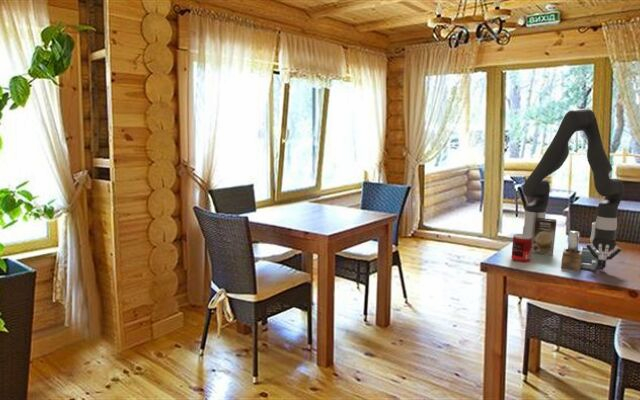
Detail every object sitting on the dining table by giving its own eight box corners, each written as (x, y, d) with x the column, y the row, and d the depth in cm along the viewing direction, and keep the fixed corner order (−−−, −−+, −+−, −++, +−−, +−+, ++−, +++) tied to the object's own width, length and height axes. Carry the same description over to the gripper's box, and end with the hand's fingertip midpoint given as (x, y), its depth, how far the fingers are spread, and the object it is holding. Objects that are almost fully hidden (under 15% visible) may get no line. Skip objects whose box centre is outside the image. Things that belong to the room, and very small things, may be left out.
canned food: (529, 258, 221) (531, 234, 219) (530, 263, 213) (532, 238, 212) (511, 256, 223) (513, 233, 222) (511, 261, 216) (513, 236, 214)
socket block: (561, 267, 207) (562, 252, 206) (563, 262, 215) (564, 247, 214) (579, 270, 203) (581, 255, 202) (581, 264, 212) (582, 249, 211)
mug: (613, 245, 246) (616, 225, 245) (595, 245, 247) (597, 225, 245) (600, 239, 259) (602, 220, 257) (582, 239, 259) (584, 220, 257)
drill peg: (566, 255, 208) (569, 232, 206) (567, 253, 211) (569, 230, 209) (577, 256, 206) (579, 233, 204) (577, 254, 209) (579, 231, 208)
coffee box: (531, 253, 229) (534, 219, 227) (532, 250, 235) (535, 217, 232) (553, 255, 225) (556, 221, 223) (553, 252, 231) (556, 219, 229)
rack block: (574, 263, 214) (576, 249, 213) (575, 258, 221) (577, 245, 220) (601, 266, 209) (602, 253, 208) (601, 262, 216) (602, 249, 215)
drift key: (569, 266, 208) (570, 259, 207) (570, 264, 211) (570, 257, 211) (595, 270, 203) (596, 263, 202) (595, 268, 207) (596, 260, 206)
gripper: (587, 227, 201) (582, 268, 204) (624, 231, 194) (620, 273, 197) (587, 223, 207) (583, 263, 210) (624, 227, 201) (619, 268, 204)
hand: (601, 268), depth 204 cm, fingers closed
